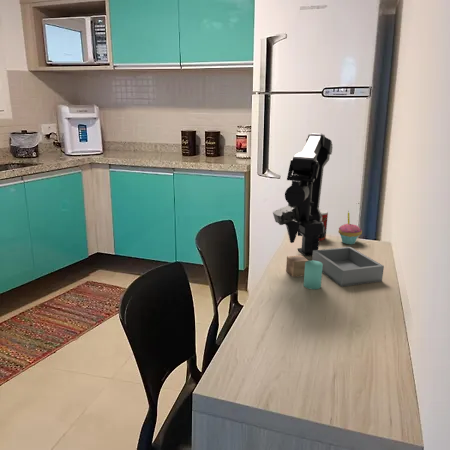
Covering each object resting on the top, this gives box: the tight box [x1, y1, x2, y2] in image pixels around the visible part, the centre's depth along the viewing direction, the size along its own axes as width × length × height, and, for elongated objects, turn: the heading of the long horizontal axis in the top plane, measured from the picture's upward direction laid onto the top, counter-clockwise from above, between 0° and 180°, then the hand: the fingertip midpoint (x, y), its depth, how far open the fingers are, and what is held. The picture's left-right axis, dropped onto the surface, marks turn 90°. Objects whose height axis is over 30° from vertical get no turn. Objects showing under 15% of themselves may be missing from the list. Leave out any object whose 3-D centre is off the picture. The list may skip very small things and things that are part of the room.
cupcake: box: [338, 210, 363, 245], centre depth 168 cm, size 9×8×12 cm
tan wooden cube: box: [285, 254, 310, 278], centre depth 139 cm, size 5×5×5 cm
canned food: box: [319, 208, 329, 242], centre depth 172 cm, size 8×8×11 cm
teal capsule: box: [303, 260, 323, 290], centre depth 129 cm, size 5×5×7 cm
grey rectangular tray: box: [311, 246, 385, 288], centre depth 140 cm, size 18×14×5 cm
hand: (298, 247), depth 137 cm, fingers open, 9 cm apart
